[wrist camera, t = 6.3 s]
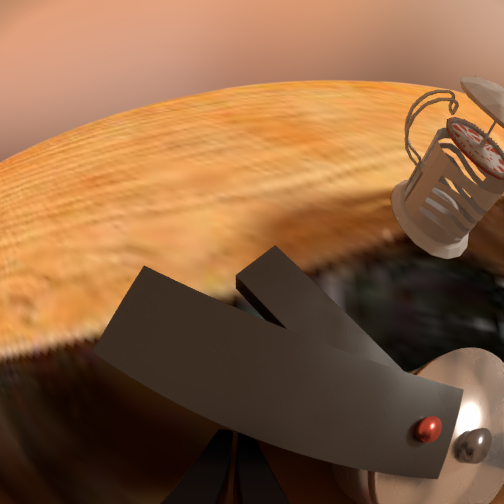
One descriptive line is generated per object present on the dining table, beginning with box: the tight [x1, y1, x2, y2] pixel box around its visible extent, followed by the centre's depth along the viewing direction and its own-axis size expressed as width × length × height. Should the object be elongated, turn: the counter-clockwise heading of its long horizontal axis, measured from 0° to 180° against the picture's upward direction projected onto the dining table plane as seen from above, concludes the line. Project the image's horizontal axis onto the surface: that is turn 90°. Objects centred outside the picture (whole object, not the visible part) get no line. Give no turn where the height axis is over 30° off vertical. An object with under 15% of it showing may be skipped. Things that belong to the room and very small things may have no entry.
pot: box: [236, 245, 491, 504], centre depth 13 cm, size 23×10×6 cm, turn 41°
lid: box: [93, 266, 504, 504], centre depth 8 cm, size 23×10×5 cm, turn 66°
